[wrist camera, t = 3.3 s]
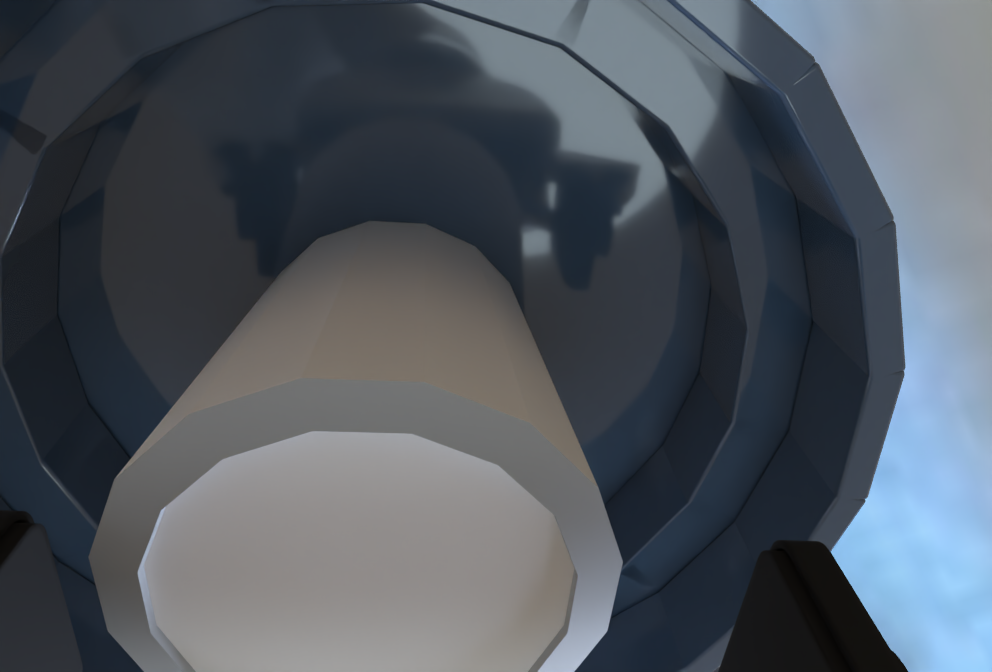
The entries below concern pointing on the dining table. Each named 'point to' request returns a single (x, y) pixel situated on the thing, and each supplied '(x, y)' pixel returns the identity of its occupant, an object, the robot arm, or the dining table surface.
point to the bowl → (478, 221)
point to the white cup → (364, 483)
